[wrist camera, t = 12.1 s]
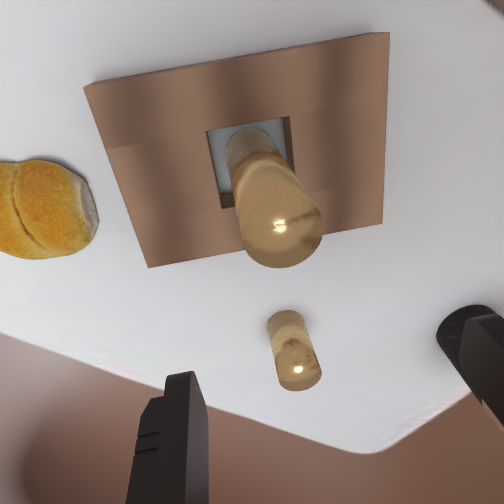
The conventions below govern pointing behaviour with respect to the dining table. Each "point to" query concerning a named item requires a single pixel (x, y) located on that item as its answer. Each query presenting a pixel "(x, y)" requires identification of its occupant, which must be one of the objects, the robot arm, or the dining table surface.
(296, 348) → the short pin
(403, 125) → the dining table surface
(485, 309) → the travel mug
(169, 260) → the hole board
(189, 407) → the robot arm
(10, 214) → the bread roll
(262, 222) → the tall pin
